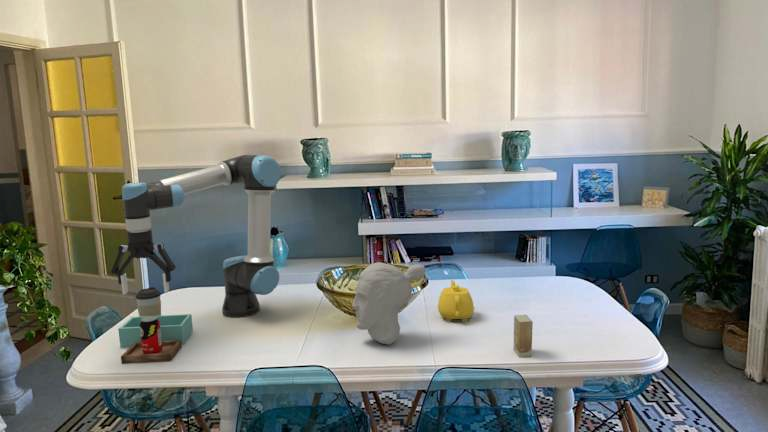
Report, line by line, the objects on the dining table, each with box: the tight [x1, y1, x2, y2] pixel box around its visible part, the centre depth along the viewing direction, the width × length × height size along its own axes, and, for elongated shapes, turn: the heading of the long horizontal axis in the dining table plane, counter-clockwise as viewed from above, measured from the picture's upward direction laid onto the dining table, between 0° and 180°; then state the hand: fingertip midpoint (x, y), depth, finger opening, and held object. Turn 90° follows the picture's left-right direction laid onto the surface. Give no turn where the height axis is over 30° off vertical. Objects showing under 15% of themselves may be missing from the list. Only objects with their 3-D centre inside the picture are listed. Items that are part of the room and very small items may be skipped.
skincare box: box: [513, 314, 534, 358], centre depth 183 cm, size 6×4×12 cm
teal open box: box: [118, 313, 194, 348], centre depth 204 cm, size 22×12×7 cm, turn 93°
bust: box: [351, 261, 426, 345], centre depth 196 cm, size 15×26×28 cm, turn 99°
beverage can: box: [140, 316, 162, 354], centre depth 190 cm, size 6×6×12 cm
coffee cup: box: [135, 286, 162, 317], centre depth 217 cm, size 9×9×15 cm
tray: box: [120, 340, 183, 364], centre depth 191 cm, size 16×12×2 cm
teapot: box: [437, 279, 475, 323], centre depth 218 cm, size 14×20×13 cm
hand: (146, 292), depth 188 cm, fingers open, 13 cm apart
